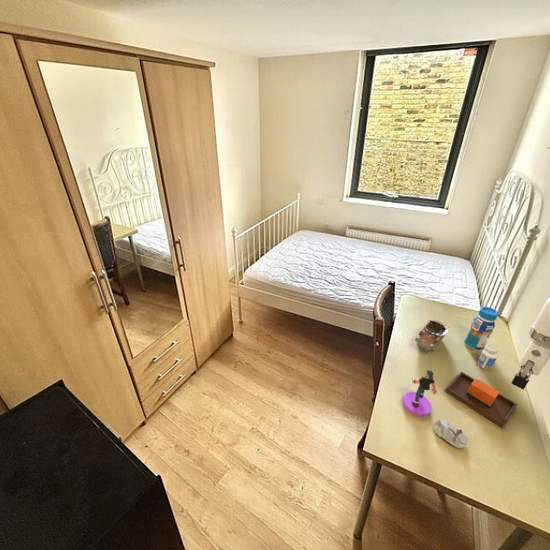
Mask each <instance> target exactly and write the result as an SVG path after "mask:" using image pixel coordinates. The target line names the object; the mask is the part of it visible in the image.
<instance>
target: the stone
mask: <svg viewBox="0 0 550 550" xmlns="http://www.w3.org/2000/svg"><path fill="white" fill-rule="evenodd" d="M433 431H434V432H435V434H436V435H437V436H438V437H439V438H442V439H444V440H445V441H446V442H447V443H449V444H450V445H452V446H454V447H455V448H457V449H465V448H466V445H467V442H468V438H467V435H466V434H465V433H464V432H463V429H460V428H459V427H457V426H455V425H453V424H451V423H450V422H448V421H446V420H445V419H438V420H437V422H436V423H435V426H434V427H433Z"/></svg>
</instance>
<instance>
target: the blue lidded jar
mask: <svg viewBox="0 0 550 550" xmlns="http://www.w3.org/2000/svg"><path fill="white" fill-rule="evenodd" d="M498 316H499V312H498V311H497V310H496V309H494V308H492V307H490V306H482V307H480V309H479V310H478V313H477V315H476V316H475V317H474V318H473V319H472V320H473V321H472V322H471V323H470V327H469V329H468V332H467V334H466V336H465V337H464V340H463V343H464V345H465V346H466V347H467V348H469V349H471V350H473V351H478V352H480V351H483V349H485V348H486V346H487V345H486V344H487V342H488V340H489V338H490V337H491V335H492V334H493V332H494V329H495V327H496V324H495V321H496V320H497V319H498Z"/></svg>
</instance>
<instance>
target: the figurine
mask: <svg viewBox="0 0 550 550" xmlns="http://www.w3.org/2000/svg"><path fill="white" fill-rule="evenodd" d="M411 381H412V384H418V387H417V390H416V391H408V392H407V393H405V394H404V396H403V399H402V405H403V407H404V409H405V411H407V413H409V414H411V415H412V416H414V417H416V418H427V417H428V416H429V415H430V413H431V411H432V404H431V403H430V400H429V399H428V398H427V397H426V396H425V391H430V390H431V392H432V394H433V395H434V396H435V395H436V394H437V393H438V389H437V386H436V385H437V384H436V381H435V380H434V371H433V370H432V369H427V370H426V372H425V374H424V376H422V377H421V378H419V379H418V380H417V379H416V378H413V377H412V378H411ZM430 386H432V387H430ZM431 388H432V389H431Z"/></svg>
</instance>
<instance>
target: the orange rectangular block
mask: <svg viewBox="0 0 550 550" xmlns="http://www.w3.org/2000/svg"><path fill="white" fill-rule="evenodd" d="M474 379H475V380H474V381H473V382H472V384H471V385H470V387H469V389H468V391H467V393H466V394H467V395H469V396H470V397H472V398H474V399H475V400H477V401H478V402H480V403H482V404H483V405H485V406H486V407H488V408H490V407H491V405H492V404H493V402H494V401H495V399H496V397H497V396H498V394H500V391H499V390H497V389H496V388H494V387H492V386H490V385H488V384H487V383H485V382H483V381H482V380H480V379H479V378H474Z"/></svg>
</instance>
